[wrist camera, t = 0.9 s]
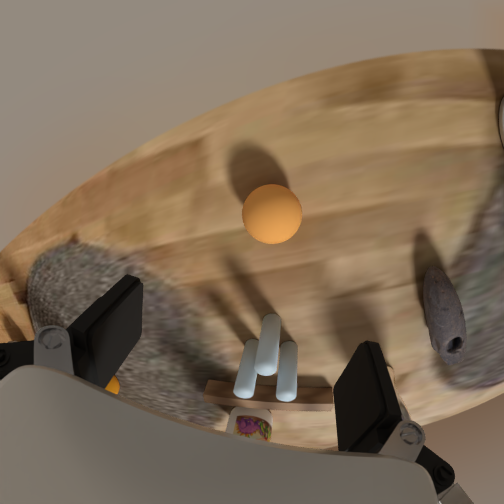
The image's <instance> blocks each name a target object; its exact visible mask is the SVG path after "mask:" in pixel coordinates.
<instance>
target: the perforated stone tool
mask: <svg viewBox="0 0 504 504" xmlns="http://www.w3.org/2000/svg"><path fill="white" fill-rule="evenodd" d="M423 299H424V308H425V315H426V320H427V325H428V328H429V335H430V340H431V344H432V347H433V349H434V350H435V351H437V352H438V353H439V354H440V356H441V358H442V359H443V360H444V361H445V362H446V363H447V364H448V365H452V364H455V363H459V362H461V361H463V359H464V358H465V352H466V327H465V319H464V314H463V310H462V306H461V303H460V300H459V298H458V295H457V293H456V291H455V289H454V287H453V285H452V283H451V281H450V280H449V278H448V277H447V276H446V275H445V274H444V273H443V272H442V271H441V270H440V269H438V268H437V267H435V266H431V267H429V268H428V270H427V272H426V274H425V279H424V285H423Z"/></svg>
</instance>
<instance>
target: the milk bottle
mask: <svg viewBox="0 0 504 504" xmlns="http://www.w3.org/2000/svg"><path fill="white" fill-rule="evenodd" d="M272 421H273V417H272V415H271V413H270V412H269V411H268V410H267V409H256V408H246V407H235V408H234V409H233V410H232V411H231V413H230V417H229V420H228V424H227V428H226V433H230V434H234V435H238V436H243V437H247V438H252V439H256V440H261V441H267V442H270V439H271V431H272Z"/></svg>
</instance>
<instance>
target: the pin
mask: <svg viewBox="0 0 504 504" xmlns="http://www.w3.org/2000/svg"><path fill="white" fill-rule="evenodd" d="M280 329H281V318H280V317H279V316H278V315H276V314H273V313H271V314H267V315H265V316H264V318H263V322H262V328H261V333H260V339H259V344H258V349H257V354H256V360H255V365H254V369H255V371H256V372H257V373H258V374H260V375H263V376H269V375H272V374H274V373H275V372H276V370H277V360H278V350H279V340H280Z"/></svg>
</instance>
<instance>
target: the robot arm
mask: <svg viewBox="0 0 504 504" xmlns="http://www.w3.org/2000/svg"><path fill="white" fill-rule="evenodd" d="M499 127H500V134H501V139H502V143H503V146H504V97H503V99H502V101H501V105H500V111H499ZM142 303H143V283H141V282H140V279H139V278H137V277H134V276H131V275H129V274H127V275H125V276H124V277H123V278H122V279H121V280H119V281H118V282H117V283H116V284H115V285H114V286H113V287H112V288H111V289H110V290H108V291H107V292H106V293H105V294H104V295H103V296H102V297H100V298H98V299H97V300H96V301H95V302H94V303H93V304H92V305H91V306H90V307H89V308H88V309H87V310H85V311H84V312H83V313H82V314H81V315H80V316H79V317H78V318H77V319H76V320H75V321H74V322H73V323H72V324H71V325H70V326H69V327H68V328H67V329H66V330H65V329H64V328H62V327H60V326H56V325H50V326H45V327H43V328H41V329H40V330H39V331H37V333H36V334H35V338H34V340H32V341H22V342H12V343H0V504H474V503H473V502H472V501H471V499H470V498H469V497H468V496H467V494H466V493H465V492H464V490H463V489H462V488H461V486H460V485H459V484H458V483H456V484H454V479H455V474H454V470H453V468H452V467H451V466H450V465H449V464H448V463H447V462H446V461H444V460H443V459H441V458H440V457H439V456H438V455H436V454H435V453H434V452H432V451H431V450H430V449H428V448H427V447H426V446H424V442H425V433H424V430H423V429H422V428H421V426H420V425H419V424H417V423H416V422H414V421H411V420H403V421H402V417H401V416H402V413H401V409H400V406H399V403H398V399H397V396H396V393H395V390H394V386H393V383H392V380H391V377H390V374H389V371H388V368H387V365H386V362H385V359H384V356H383V354H382V351H381V348H380V345H379V343H376V342H371V341H365V342H364V343H361V344H360V345H359V346H358V348H357V350H356V351H355V353H354V355H353V356H352V358H351V360H350V361H349V363H348V365H347V366H346V368H345V369H344V371H343V373H342V374H341V376H340V377H339V379H338V380H337V382H336V384H335V386H334V389H333V394H334V404H335V414H336V425H337V437H338V450H339V451H332V450H322V449H312V448H304V447H297V446H290V445H284V444H278V443H272V442H267V441H261V440H256V439H252V438H247V437H243V436H238V435H234V434H230V433H226V432H222V431H218V430H215V429H211V428H207V427H204V426H201V425H197V424H194V423H191V422H188V421H185V420H181V419H178V418H175V417H173V416H170V415H167V414H164V413H161V412H159V411H156V410H153V409H151V408H148V407H146V406H143V405H141V404H138V403H136V402H133V401H131V400H129V399H126V398H124V397H121V396H119V395H117V394H114V393H112V392H110V391H108V390H106V389H105V388H106V387H107V385H108V384H109V382H110V381H111V379H112V378H113V376H114V375H115V373H116V372H117V370H118V369H119V367H120V366H121V365H122V363H123V362H124V360H125V359H126V357H127V356H128V354H129V353H130V352H131V350H132V349H133V347H134V346H135V344H136V343H137V342H138V340H139V339H140V337H141V333H142Z"/></svg>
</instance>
